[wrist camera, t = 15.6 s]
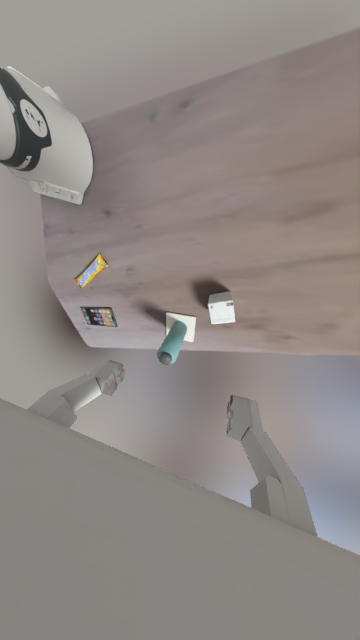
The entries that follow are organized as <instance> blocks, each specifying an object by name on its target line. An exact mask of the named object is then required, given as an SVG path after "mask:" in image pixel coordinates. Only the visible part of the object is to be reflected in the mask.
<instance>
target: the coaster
mask: <svg viewBox="0 0 360 640" xmlns="http://www.w3.org/2000/svg"><path fill="white" fill-rule="evenodd" d="M175 322H183V323H184V324H185V325H186V326H187V332H186V334H185V337H184V341H189V342H193V341H194V331H195V322H196V317H195V316H189V315H183V314H177V313H170V312H166V336H167V334H168V333H169V331H170V329H171V327H172V325H173V324H174V323H175Z"/></svg>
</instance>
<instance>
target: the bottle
mask: <svg viewBox="0 0 360 640" xmlns="http://www.w3.org/2000/svg"><path fill="white" fill-rule="evenodd" d="M186 332H187V326H186V325H185V324H184V323H183V322H175V323H174V324H173V325H172V327H171V329H170V331H169V333H168V334H167V336H166V338H165V340H164V342H163V343H162V345H161V347H160V349H159V351H158V353H157V356H158V359H159V360H160V362H161V363H163V364H165V365H168V364H173V363H174V362H175V361H176V358H177V356H178V353H179V350H180V348H181V345H182V342H183V340H184V337H185V334H186Z"/></svg>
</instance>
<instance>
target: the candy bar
mask: <svg viewBox="0 0 360 640" xmlns="http://www.w3.org/2000/svg"><path fill="white" fill-rule="evenodd" d="M105 267H108V265H107V264H106V262H105V261H104V260H103V258H102V256H101V254H100V253H99V255H98V256H97V258H96V259H95V260H94V261H93V262H92V263H91V264H90V266H89V267H88V268H87V269H86V270H85V271H84V272H83V273H82V274H81V275H80V276H79V277H78V278H77V279H74V280H75V282H76V284H77V285H79V284H80V286H79V287H80V288H81V289H83V288H84V286H85V285H86V284H88V283H89V282H90V281H91V280H92V279H93V278H94V277H95V276H96V275H97V274H98V273H100V272H101V271H102V270H103V269H104V268H105Z"/></svg>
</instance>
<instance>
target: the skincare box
mask: <svg viewBox="0 0 360 640" xmlns="http://www.w3.org/2000/svg"><path fill="white" fill-rule="evenodd" d="M208 309H209V313H210V318H211V323H212V324H219V323H229V322H235V314H234V305H233V299H232V294H231V291H228V292H222V293H217V294H212V295H210V296H209V301H208Z"/></svg>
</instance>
